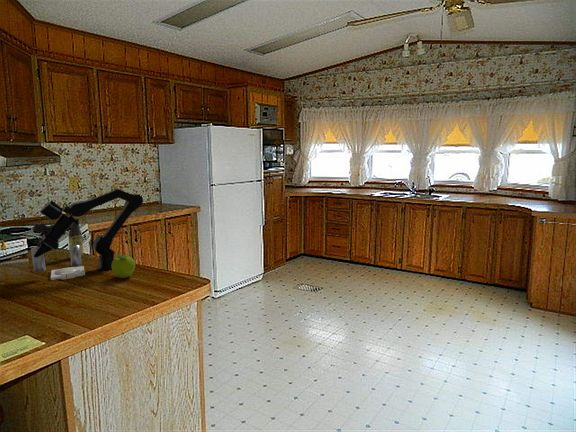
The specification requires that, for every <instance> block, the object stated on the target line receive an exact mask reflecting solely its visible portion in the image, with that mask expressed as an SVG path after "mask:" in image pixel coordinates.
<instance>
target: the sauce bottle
mask: <svg viewBox="0 0 576 432" xmlns="http://www.w3.org/2000/svg"><path fill="white" fill-rule="evenodd" d="M70 245H80V252H81V258H83V257H84V245H83V234H82V231H81V229H80V224H79V225H77V224H75V223H73V225H72V226H71V227H70V229H69V231H68V248H69V251H70V247H69V246H70ZM69 257H70V256H69ZM70 259H71V257H70Z"/></svg>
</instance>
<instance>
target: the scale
mask: <svg viewBox="0 0 576 432" xmlns="http://www.w3.org/2000/svg"><path fill="white" fill-rule="evenodd" d="M83 275H84V276H86V272H85V267H84V265H82V266H79V267H72V266H71V267H63V268H57V269H51V271H50V281H56V280H61V281H62V280H69V279H70V280H71V279H75V278H76V277H82V276H83Z"/></svg>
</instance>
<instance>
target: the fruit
mask: <svg viewBox="0 0 576 432" xmlns="http://www.w3.org/2000/svg"><path fill="white" fill-rule="evenodd" d="M111 267H112V269H111V271H112V273H113V274H114V275H115V276H116V277H117V278H120V279H121V278H122V279H126V278H129V277H130V276H131V275H133V273H134V271H135V269H136V261H135V260H134V258H133V257H132V256H130V255H129V256H128V255H125V256H124V255H123V253H122V254H116V255H115V258H114V260H113V262H112V265H111Z"/></svg>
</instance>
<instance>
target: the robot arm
mask: <svg viewBox="0 0 576 432" xmlns="http://www.w3.org/2000/svg"><path fill="white" fill-rule="evenodd" d="M116 199H121V200H123V201H124V204H123V207H122V209H121V210H120V212H119V213H118V215H117V216H116V217H115V219H114V221H112V223H111V224H110V226H108V228H107V230H106V231H105V232H104V233H103V234H102V235H101V234H97V236H96V238H95V239H94V240H93V241H92V249H93V251H94V252H96V254H98V255H99V256H98V258H99V259H98V260H99V267H97V268H96V269H97V270H101V271H104V272H106V271H109V270H112V267H111V265H112V262H113V260H114V259H115V258H114V257H115V253H116V252H115V251H114V250H113V249H111V246H112V244H113V241H114V238H115V237H116V235H117V234H118V232H119V231H120V230H121V228H122V226H123V225H124V224H125V223H126V221H127V220H128V219H129V218H130V216H131V214H132V213H134V212H135V211H136V210H138V208H140V207H141V206H142V205H143V203H144V199H143V196H142V195H141V194H138V193H129V192H126V191H124V190H121V189H120V188H114V189H113V190H110V191H108V192H106V193H103V194H100V195H98V196H95V197H93V198H90V199H88V200H87V199H86V200H80V201H76V202H72V203H71V204H69V206H64V207H61V206H59V204H57V203H56V202H55V201H53V200H50V201H49V202H48V203H47V204H45V205H44V206H43V207H42V208H41V209H40V211H39V214H41V215H43V216H45V217H46V218H47V219H48V220H50V221H53V220H54V221H55V222H54V223H53V224H50V225H46V224H45V223H42V222H40V223H39V222H34V225H33V227H32V231H33V232H35V233H36V232H39V234H38V243H37V245H36V247H39V248H38V250H37V251H36V253H35V255H34V257H35V258H36V257H38V256H40V255H42V254H44V255H45V254H46V253H48V252H51V251H53V250H54V251H56V250H58V248H59V247H60V245H59V241H60V239H61V238H62V237H63V236H65V234H66V232H67V231H68V230H70V229H71V226H72V225H73V223H75V224H77V225H79V226H80V219H79V218H78V217H83V216H84V215H86V214H87V213H88V212H90V211H91V210H93V209H94V208H96V207H99V206H101V205H104V204H106V203H109V202H112V201H114V200H116ZM63 212H64V213H63ZM67 214H68V215H67ZM75 217H76V218H75Z"/></svg>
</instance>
